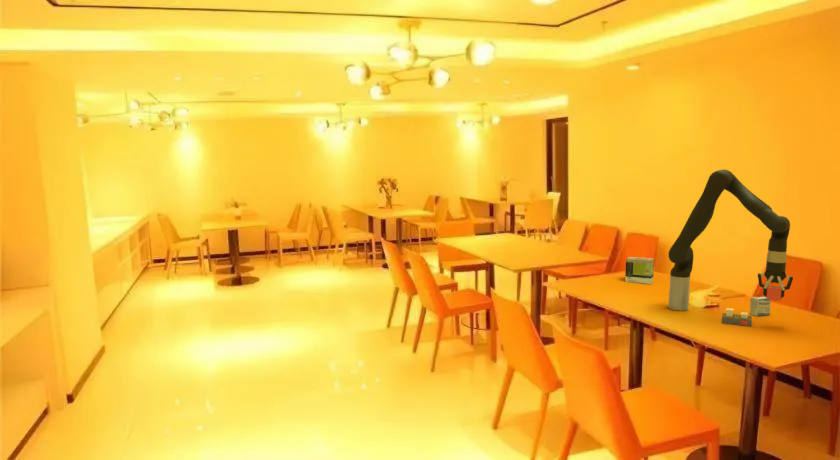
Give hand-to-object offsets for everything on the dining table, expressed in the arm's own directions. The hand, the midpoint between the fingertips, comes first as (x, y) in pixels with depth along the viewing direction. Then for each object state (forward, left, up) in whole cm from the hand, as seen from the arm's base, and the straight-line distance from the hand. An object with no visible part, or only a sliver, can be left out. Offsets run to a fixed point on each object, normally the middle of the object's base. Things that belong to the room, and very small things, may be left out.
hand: (773, 296), depth 256 cm
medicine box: (-4, +20, -14) cm, 25 cm away
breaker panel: (-14, 0, -14) cm, 20 cm away
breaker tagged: (-11, 0, -14) cm, 17 cm away
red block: (0, 0, -1) cm, 1 cm away
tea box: (-67, +70, -14) cm, 98 cm away
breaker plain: (-17, 0, -12) cm, 21 cm away
